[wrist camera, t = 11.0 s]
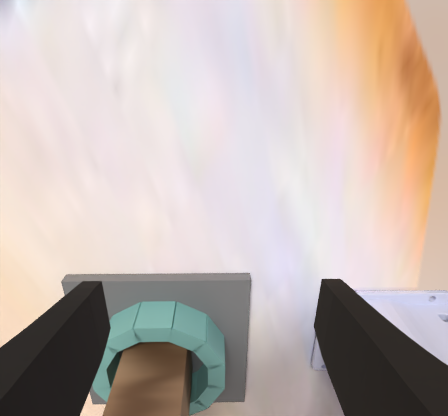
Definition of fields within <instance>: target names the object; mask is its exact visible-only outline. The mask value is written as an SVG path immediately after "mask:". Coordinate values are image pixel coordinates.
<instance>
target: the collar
mask: <svg viewBox="0 0 448 416" xmlns="http://www.w3.org/2000/svg"><path fill="white" fill-rule="evenodd" d="M82 281H102V285H103V290H104V295H105V300H106V306H107V311H108V316H109V321H110V327H111V329H110V333H109V337H108V341H107V345H106V348H105V352H104V355H103V359H102V362H101V364H100V367H99V369H98V372H97V374H96V377H95V379H94V382H93V384H92V387H91V389H90V395H91V399H92V403H93V404H106V403H107V400H108V397H109V394H110V391H111V388H112V385H113V381H114V378H115V375H116V372H117V369H118V366H119V363H120V359H121V356H122V353H123V350H124V349H126V348H128V347H130V346H132V345H134V344H137V343H139V342H170V343H173V344H176V345H178V346H181V347H183V348H186V349H188V350H191V355H192V367H193V369H192V383H191V396H190V409H189V416H190V415H192V414H195V413H197V412H200V411H203V410H205V409H207V408H209V407H210V405H211V404H212V403H213V402H244V399H245V380H246V361H247V343H248V324H249V305H250V287H251V278H250V273H211V274H81V275H66V276H65V277H64V279H63V280H62V281H61V283H62V286H63V290H64V294H65V295H66V294H68V293H69V292H70V291H71V290H72V289H74V288H75V287H76V286H77V285H78V284H80V283H81V282H82Z"/></svg>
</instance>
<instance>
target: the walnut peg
mask: <svg viewBox="0 0 448 416" xmlns="http://www.w3.org/2000/svg"><path fill="white" fill-rule="evenodd" d="M192 369H193V367H192V355H191V350H188V349H186V348H183V347H181V346H178V345H176V344H173V343H170V342H139V343H137V344H134V345H132V346H130V347H128V348H126V349H124V350H123V353H122V356H121V359H120V363H119V366H118V369H117V372H116V375H115V378H114V381H113V385H112V388H111V391H110V394H109V397H108V400H107V403H106V407H105V410H104V413H103V416H189V409H190V396H191V383H192Z"/></svg>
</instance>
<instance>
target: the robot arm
mask: <svg viewBox="0 0 448 416" xmlns="http://www.w3.org/2000/svg"><path fill="white" fill-rule="evenodd" d="M431 296H432V297H431ZM314 328H315V332H316V339H315V345H314V351H313V356H312V362H311V365H312V368H313V369H314V370H327V371H328V374H329V377H330V379H331V382H332V384H333V387H334V389H335V392H336V395H337V397H338V400H339V402H340V405H341V407H342V410H343V412H344V415H345V416H448V291H445V290H437V291H436V290H434V291H433V290H430V291H429V290H427V291H354V290H353V289H352V288H350V287H349V286H348V285H347V284H346V283H345V282H343V281H342V280H341V279H322V281H321V287H320V293H319V299H318V305H317V311H316V317H315V323H314ZM110 329H111V327H110V321H109V316H108V311H107V306H106V300H105V295H104V290H103V285H102V281H82V282H81V283H80V284H78V285H77V286H76V287H75V288H74V289H72V290H71V291H70V292H69V293H68V294H66V295H65V296H64V297H63V298H62V299H61V300H59V301H58V302H57V303H56V304H55V305H53V306H52V307H51V308H50V309H49V310H47V311H46V312H45V313H44V314H43V315H41V316H40V317H39V318H38V319H36V320H35V321H34V322H33V323H32V324H30V325H29V326H28V327H27V328H25V329H24V330H23V331H21V332H20V333H19V334H18V335H16V336H15V337H14V338H12V339H11V340H10V341H8V342H7V343H6V344H4V345H3V346H2V347H1V348H0V416H80V413H81V411H82V409H83V406H84V404H85V401H86V399H87V396H88V394H89V391H90V389H91V387H92V384H93V382H94V379H95V377H96V374H97V372H98V369H99V367H100V364H101V362H102V359H103V355H104V352H105V348H106V345H107V341H108V337H109V333H110Z"/></svg>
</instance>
